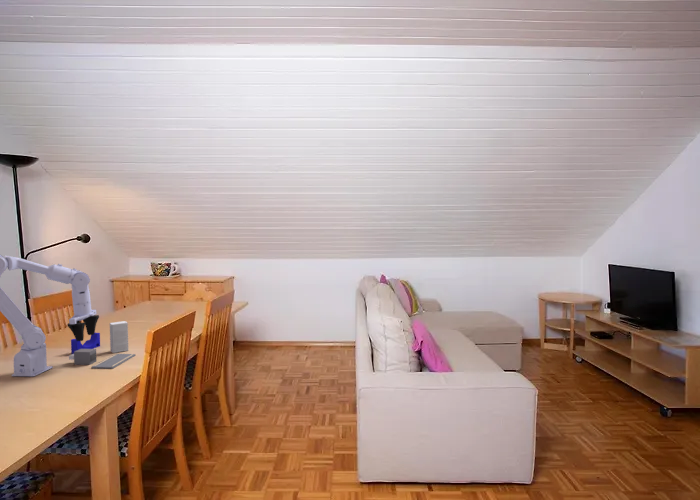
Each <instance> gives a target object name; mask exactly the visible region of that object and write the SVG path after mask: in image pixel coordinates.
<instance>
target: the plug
mask: <svg viewBox="0 0 700 500" xmlns="http://www.w3.org/2000/svg"><path fill="white" fill-rule="evenodd" d="M68 360H71V361H72V360H73V364H74V366H75V365H78V366H91V365H93V364H94V363H97V349H96V348H94V349H79V350H77V351H75V352H74V354H70V355H68Z"/></svg>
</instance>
